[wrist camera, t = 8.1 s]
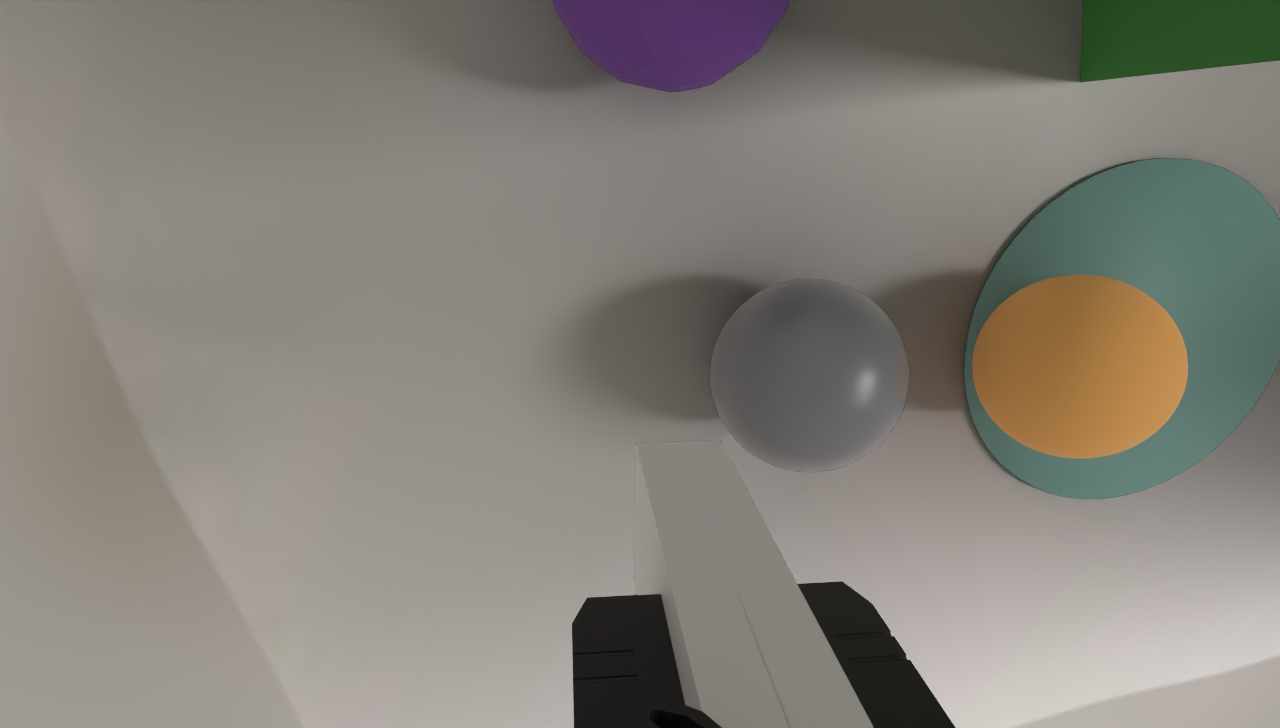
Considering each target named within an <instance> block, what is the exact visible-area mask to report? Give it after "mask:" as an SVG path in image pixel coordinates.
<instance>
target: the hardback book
mask: <svg viewBox="0 0 1280 728" xmlns="http://www.w3.org/2000/svg"><path fill="white" fill-rule="evenodd" d="M1276 60H1280V0H1083V22H1082V47H1081V72H1080V82H1087V81H1096V80H1105V79H1114V78H1123V77H1132V76H1141V75H1150V74H1159V73H1168V72H1177V71H1186V70H1195V69H1204V68H1213V67H1222V66H1231V65H1240V64H1249V63H1258V62H1267V61H1276Z"/></svg>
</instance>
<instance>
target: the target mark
mask: <svg viewBox="0 0 1280 728" xmlns="http://www.w3.org/2000/svg"><path fill="white" fill-rule="evenodd" d="M1065 275H1094V276H1102V277H1107V278H1111V279H1115V280H1119V281H1121V282H1124V283H1126V284H1129V285H1131V286H1133V287H1135V288H1137V289H1139V290H1141V291H1142V292H1144V293H1145V294H1147V295H1148V296H1150V297H1151V298H1152V299H1154V300H1155V301H1156V302H1157V303H1159V304H1160V305H1161V306H1162V307H1163V308H1164V309H1165V310H1166V311H1167V313H1168V314H1169V315H1170V317H1171V318H1172V319H1173V321H1174V322H1175V323H1176V325H1177V327H1178V329H1179V331H1180V333H1181V335H1182V337H1183V341H1184V344H1185V347H1186V351H1187V359H1188V377H1187V383H1186V387H1185V391H1184V393H1183V396H1182V398H1181V400H1180V403H1179V405H1178V407H1177V408H1176V410H1175V411H1174V413H1173V414H1172V416H1171V417H1170V418H1169V420H1168V421H1167V422H1166V423H1165V424H1164V425H1163V426H1162V427H1161V428H1160V429H1159V430H1158V431H1157V432H1156V433H1154V434H1153V435H1152V436H1150V437H1149V438H1148V439H1146V440H1145V441H1143V442H1141V443H1139V444H1137V445H1136V446H1134V447H1132V448H1130V449H1127V450H1125V451H1122V452H1119V453H1116V454H1112V455H1108V456H1104V457H1096V458H1080V459H1073V458H1064V457H1057V456H1053V455H1048V454H1045V453H1042V452H1039V451H1036V450H1033V449H1031V448H1029V447H1027V446H1025V445H1023V444H1021V443H1019V442H1018V441H1016V440H1015V439H1013V438H1012V437H1010V436H1009V435H1008V434H1006V433H1005V432H1004V431H1003V430H1002V429H1000V428H999V426H998V425H997V424H996V423H995V422H994V421H993V420H992V419H991V418H990V416H989V415H988V413H987V412H986V411H985V409H984V407H983V405H982V404H981V402H980V400H979V397H978V394H977V392H976V389H975V385H974V380H973V371H972V361H973V353H974V348H975V344H976V341H977V338H978V336H979V333H980V331H981V329H982V327H983V326H984V324H985V322H986V321H987V319H988V318H989V317H990V315H991V314H992V313H993V312H994V311H995V310H996V308H997V307H998V306H999V305H1000V304H1001V303H1003V302H1004V301H1005V300H1006V299H1007V298H1009V297H1010V296H1011V295H1013V294H1014V293H1016V292H1018V291H1019V290H1021V289H1023V288H1025V287H1027V286H1029V285H1031V284H1033V283H1036V282H1039V281H1042V280H1045V279H1048V278H1053V277H1058V276H1065ZM1279 360H1280V220H1279V218H1278V217H1277V215H1276V213H1275V211H1274V209H1273V208H1272V207H1271V206H1270V204H1269V203H1268V202H1267V201H1266V199H1265V198H1264V197H1263V196H1262V194H1261V193H1259V192H1258V191H1257V190H1256V189H1255V188H1254V187H1253V186H1251V185H1250V184H1249V183H1248V182H1247V181H1245V180H1244V179H1242V178H1240V177H1239V176H1237V175H1235V174H1234V173H1232V172H1230V171H1229V170H1226V169H1223V168H1221V167H1218V166H1215V165H1213V164H1210V163H1205V162H1200V161H1195V160H1190V159H1169V158H1160V159H1151V160H1142V161H1136V162H1132V163H1128V164H1124V165H1121V166H1117V167H1114V168H1111V169H1109V170H1106V171H1104V172H1101V173H1099V174H1096V175H1094V176H1092V177H1090V178H1088V179H1086V180H1084V181H1083V182H1081V183H1079V184H1077V185H1075V186H1073V187H1072V188H1070V189H1069V190H1067V191H1066V192H1064V193H1063V194H1062V195H1060V196H1059V197H1057V198H1056V199H1055V200H1053V201H1052V202H1050V203H1049V204H1048V205H1047V206H1046V207H1045V208H1043V209H1042V210H1041V211H1040V212H1039V213H1038V214H1037V215H1036V216H1035V217H1033V218H1032V219H1031V220H1030V221H1029V222H1028V223H1027V225H1026V226H1025V227H1024V228H1023V229H1022V230H1021V231H1020V232H1019V233H1018V235H1017V236H1016V237H1015V238H1014V239H1013V240H1012V242H1011V243H1010V244H1009V246H1008V247H1007V249H1006V250H1005V251H1004V253H1003V254H1002V255H1001V257H1000V258H999V260H998V261H997V263H996V265H995V266H994V268H993V270H992V272H991V274H990V275H989V277H988V279H987V281H986V282H985V285H984V287H983V289H982V292H981V294H980V296H979V299H978V301H977V303H976V306H975V309H974V312H973V316H972V319H971V323H970V326H969V330H968V336H967V342H966V347H965V359H964V380H965V391H966V397H967V402H968V406H969V410H970V414H971V417H972V419H973V422H974V424H975V427H976V429H977V432H978V433H979V435H980V437H981V439H982V440H983V442H984V444H985V445H986V447H987V448H988V450H989V451H990V452H991V453H992V454H993V456H994V457H995V458H996V459H997V460H998V462H999V463H1001V464H1002V465H1003V466H1004V467H1005V468H1006V469H1007V470H1009V471H1010V472H1011V473H1012V474H1013V475H1015V476H1016V477H1018V478H1020V479H1021V480H1023V481H1024V482H1026V483H1028V484H1029V485H1031V486H1033V487H1036V488H1038V489H1040V490H1043V491H1045V492H1048V493H1051V494H1055V495H1059V496H1063V497H1069V498H1079V499H1104V498H1111V497H1117V496H1123V495H1127V494H1131V493H1135V492H1138V491H1142V490H1145V489H1147V488H1150V487H1152V486H1155V485H1157V484H1160V483H1162V482H1165V481H1166V480H1168V479H1170V478H1172V477H1174V476H1176V475H1178V474H1180V473H1182V472H1183V471H1185V470H1186V469H1188V468H1189V467H1191V466H1192V465H1194V464H1195V463H1197V462H1198V461H1200V460H1201V459H1203V458H1204V457H1205V456H1206V455H1208V454H1209V453H1210V452H1211V451H1212V450H1214V449H1215V448H1216V447H1217V446H1219V445H1220V444H1221V443H1222V442H1223V441H1224V440H1225V439H1226V438H1227V437H1228V436H1229V435H1230V434H1231V433H1232V432H1233V431H1234V430H1235V429H1236V428H1237V426H1238V425H1239V424H1240V423H1241V422H1242V420H1243V419H1244V418H1245V417H1246V416H1247V414H1248V413H1249V412H1250V411H1251V409H1252V408H1253V406H1254V405H1255V404H1256V402H1257V401H1258V399H1259V398H1260V396H1261V395H1262V393H1263V392H1264V390H1265V388H1266V386H1267V384H1268V383H1269V381H1270V379H1271V377H1272V375H1273V374H1274V372H1275V369H1276V367H1277V365H1278V362H1279Z"/></svg>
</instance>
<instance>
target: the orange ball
mask: <svg viewBox="0 0 1280 728" xmlns="http://www.w3.org/2000/svg"><path fill="white" fill-rule="evenodd" d="M972 371H973V380H974V385H975V389H976V392H977V394H978V397H979V400H980V402H981V404H982V405H983V407H984V409H985V411H986V412H987V413H988V415H989V416H990V418H991V419H992V420H993V421H994V422H995V423H996V424H997V425H998V426H999V428H1000V429H1002V430H1003V431H1004V432H1005V433H1006V434H1008V435H1009V436H1010V437H1012V438H1013V439H1015V440H1016V441H1018V442H1019V443H1021V444H1023V445H1025V446H1027V447H1029V448H1031V449H1033V450H1036V451H1039V452H1042V453H1045V454H1048V455H1053V456H1057V457H1064V458H1073V459H1080V458H1096V457H1104V456H1108V455H1112V454H1116V453H1119V452H1122V451H1125V450H1127V449H1130V448H1132V447H1134V446H1136V445H1137V444H1139V443H1141V442H1143V441H1145V440H1146V439H1148V438H1149V437H1150V436H1152V435H1153V434H1154V433H1156V432H1157V431H1158V430H1159V429H1160V428H1161V427H1162V426H1163V425H1164V424H1165V423H1166V422H1167V421H1168V420H1169V418H1170V417H1171V416H1172V414H1173V413H1174V411H1175V410H1176V408H1177V407H1178V405H1179V403H1180V400H1181V398H1182V396H1183V393H1184V391H1185V387H1186V383H1187V377H1188V359H1187V351H1186V347H1185V344H1184V341H1183V337H1182V335H1181V333H1180V331H1179V329H1178V327H1177V325H1176V323H1175V322H1174V321H1173V319H1172V318H1171V317H1170V315H1169V314H1168V313H1167V311H1166V310H1165V309H1164V308H1163V307H1162V306H1161V305H1160V304H1159V303H1157V302H1156V301H1155V300H1154V299H1152V298H1151V297H1150V296H1148V295H1147V294H1145V293H1144V292H1142V291H1141V290H1139V289H1137V288H1135V287H1133V286H1131V285H1129V284H1126V283H1124V282H1121V281H1119V280H1115V279H1111V278H1107V277H1102V276H1094V275H1065V276H1058V277H1053V278H1048V279H1045V280H1042V281H1039V282H1036V283H1033V284H1031V285H1029V286H1027V287H1025V288H1023V289H1021V290H1019V291H1018V292H1016V293H1014V294H1013V295H1011V296H1010V297H1009V298H1007V299H1006V300H1005V301H1004V302H1003V303H1001V304H1000V305H999V306H998V307H997V308H996V310H995V311H994V312H993V313H992V314H991V315H990V317H989V318H988V319H987V321H986V322H985V324H984V326H983V327H982V329H981V331H980V333H979V336H978V338H977V341H976V344H975V348H974V353H973V361H972Z"/></svg>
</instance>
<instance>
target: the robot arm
mask: <svg viewBox="0 0 1280 728" xmlns="http://www.w3.org/2000/svg"><path fill="white" fill-rule="evenodd" d="M634 579H635V585H636V591H637V595H630V596H612V597H593V598H587V599H586V601H585V602H584V604H583V606H582V608H581V609H580V611H579V613H578V614H577V616H576V618H575V619H574V621H573V623H572V643H573V694H574V728H955V726H954V725H953V723H952V722H951V720H950V719H949V717H948V716H947V714H946V713H945V711H944V710H943V709H942V707H941V706H940V704H939V703H938V701H937V700H936V698H935V697H934V695H933V694H932V692H931V691H930V689H929V688H928V686H927V685H926V683H925V682H924V680H923V679H922V677H921V676H920V674H919V673H918V671H917V670H916V668H915V667H914V665H913V664H912V662H911V661H910V660H907V659H906V653H905V652H904V651H903V649H902V648H901V646H900V645H899V643H898V642H897V640H896V639H895V637H894V636H893V637H891V634H890V630H889V628H888V627H887V625H886V624H885V622H884V621H883V619H882V618H881V616H880V615H879V613H878V612H877V610H876V609H875V607H874V606H873V604H872V603H870V602H869V601H868V600H866V599H865V598H864V597H862V596H861V595H860V594H858V593H857V592H856V591H854V590H853V589H851V588H850V587H849V586H847V585H846V584H845V583H843V582H826V583H807V584H797V583H796V581H795V579H794V577H793V575H792V573H791V571H790V570H789V568H788V566H787V564H786V562H785V560H784V558H783V556H782V555H781V553H780V551H779V549H778V547H777V545H776V543H775V541H774V540H773V538H772V536H771V534H770V532H769V530H768V528H767V526H766V525H765V523H764V521H763V519H762V517H761V515H760V513H759V511H758V510H757V508H756V506H755V504H754V502H753V500H752V498H751V496H750V495H749V493H748V491H747V489H746V487H745V485H744V483H743V481H742V480H741V478H740V476H739V474H738V472H737V470H736V468H735V466H734V465H733V463H732V461H731V459H730V457H729V455H728V453H727V451H726V450H725V448H724V446H723V444H722V442H721V440H709V441H677V442H645V443H636V474H635V568H634Z"/></svg>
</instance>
